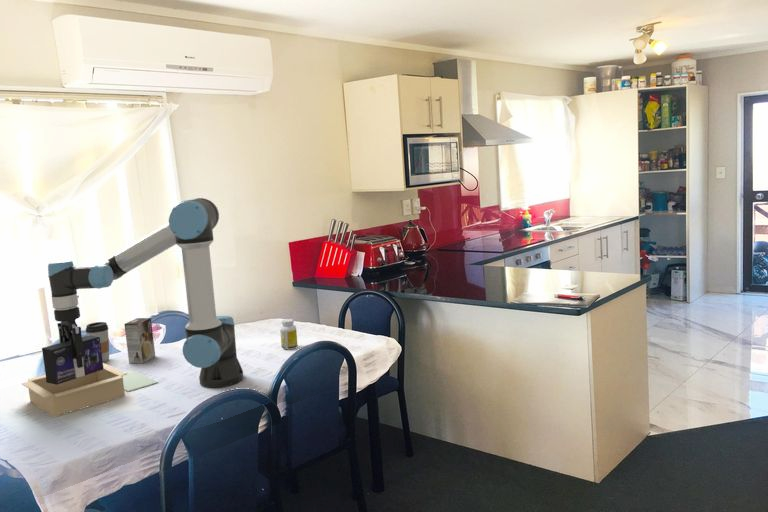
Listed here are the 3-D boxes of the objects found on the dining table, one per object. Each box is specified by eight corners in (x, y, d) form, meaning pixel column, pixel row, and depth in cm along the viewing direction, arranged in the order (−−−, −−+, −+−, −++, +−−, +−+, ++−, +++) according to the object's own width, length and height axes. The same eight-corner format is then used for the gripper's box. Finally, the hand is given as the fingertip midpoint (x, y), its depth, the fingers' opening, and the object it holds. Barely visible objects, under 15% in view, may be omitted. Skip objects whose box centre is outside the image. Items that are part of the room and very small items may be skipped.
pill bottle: (300, 346, 264) (299, 319, 262) (290, 351, 259) (288, 323, 257) (288, 344, 268) (286, 317, 266) (278, 349, 262) (276, 321, 260)
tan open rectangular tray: (133, 395, 217) (131, 375, 216) (49, 420, 198) (47, 399, 197) (101, 379, 235) (98, 361, 234) (21, 401, 216) (19, 381, 215)
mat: (158, 382, 228) (158, 381, 228) (128, 392, 220) (127, 390, 220) (131, 371, 243) (131, 370, 242) (102, 379, 235) (101, 378, 235)
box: (57, 385, 206) (51, 349, 205) (46, 383, 210) (40, 347, 209) (105, 369, 220) (99, 335, 219) (93, 367, 224) (88, 334, 222)
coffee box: (141, 356, 262) (137, 317, 259) (155, 356, 260) (151, 317, 258) (128, 363, 253) (123, 323, 250) (143, 363, 251) (138, 323, 249)
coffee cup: (84, 363, 255) (80, 326, 253) (101, 356, 263) (96, 321, 261) (100, 364, 252) (96, 327, 250) (116, 358, 260) (112, 322, 257)
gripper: (90, 308, 207) (99, 376, 211) (66, 301, 221) (75, 365, 225) (66, 313, 202) (76, 383, 206) (43, 306, 216) (52, 372, 219)
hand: (75, 374), depth 215 cm, fingers closed on box, 7 cm apart
